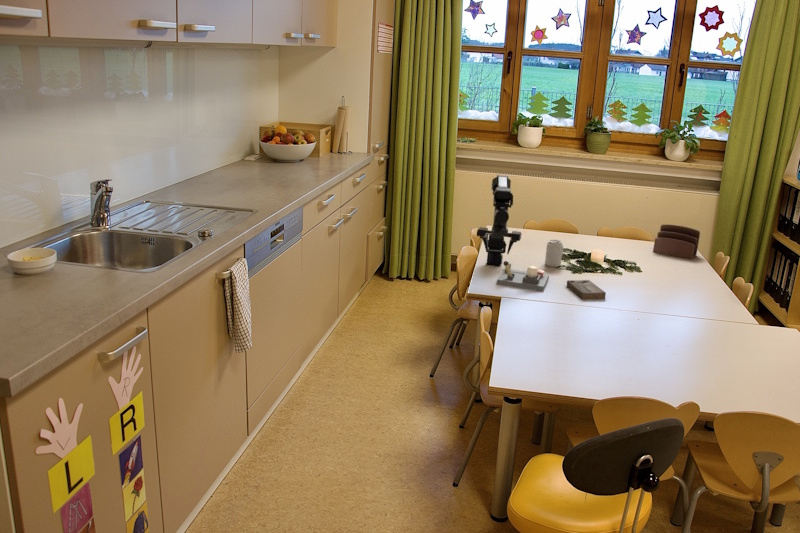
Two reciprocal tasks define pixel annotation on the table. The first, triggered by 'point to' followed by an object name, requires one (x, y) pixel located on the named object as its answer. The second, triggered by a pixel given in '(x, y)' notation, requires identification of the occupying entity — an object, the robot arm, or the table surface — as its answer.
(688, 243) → the letter holder
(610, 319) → the table surface
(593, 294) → the grey flat block
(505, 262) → the lever
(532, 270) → the button
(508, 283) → the panel
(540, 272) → the rocker
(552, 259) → the can
